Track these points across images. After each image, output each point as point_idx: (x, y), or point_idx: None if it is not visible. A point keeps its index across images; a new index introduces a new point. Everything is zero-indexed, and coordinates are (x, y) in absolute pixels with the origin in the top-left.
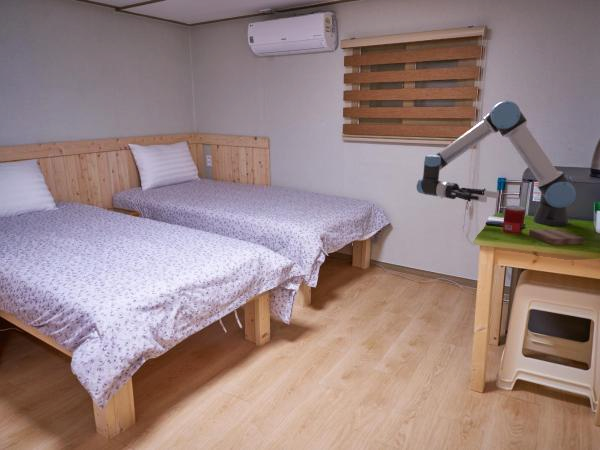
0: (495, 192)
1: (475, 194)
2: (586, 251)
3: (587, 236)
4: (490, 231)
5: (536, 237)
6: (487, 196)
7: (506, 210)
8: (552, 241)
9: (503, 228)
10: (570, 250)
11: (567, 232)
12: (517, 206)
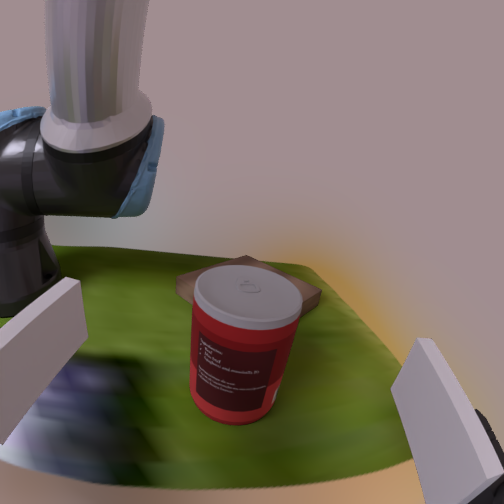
0: (61, 299)
1: (482, 435)
2: (305, 270)
3: (158, 257)
4: (307, 465)
5: None
6: (26, 407)
7: (288, 332)
8: (319, 296)
9: (261, 413)
10: (325, 285)
11: (210, 267)
12: (203, 282)
